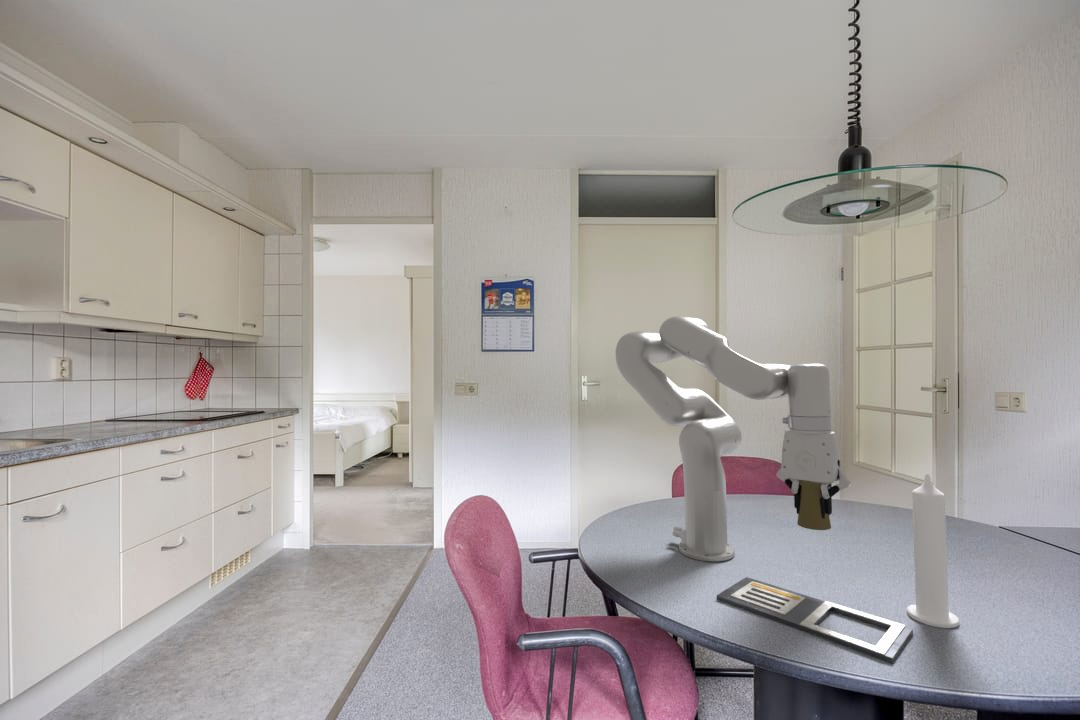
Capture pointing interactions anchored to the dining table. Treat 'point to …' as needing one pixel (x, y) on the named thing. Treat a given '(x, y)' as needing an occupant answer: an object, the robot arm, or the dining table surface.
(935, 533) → the candle
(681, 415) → the robot arm
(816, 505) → the cork
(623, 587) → the dining table surface
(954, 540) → the dining table surface
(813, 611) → the panel
